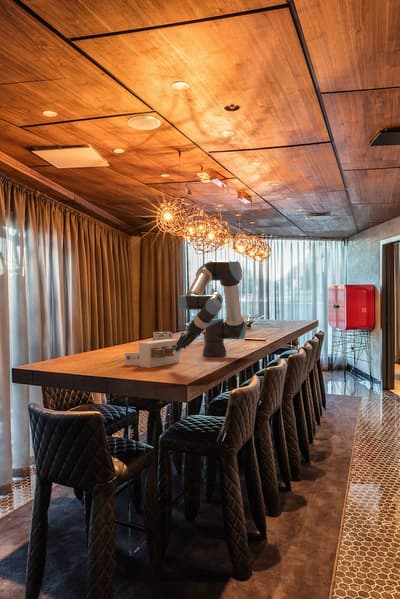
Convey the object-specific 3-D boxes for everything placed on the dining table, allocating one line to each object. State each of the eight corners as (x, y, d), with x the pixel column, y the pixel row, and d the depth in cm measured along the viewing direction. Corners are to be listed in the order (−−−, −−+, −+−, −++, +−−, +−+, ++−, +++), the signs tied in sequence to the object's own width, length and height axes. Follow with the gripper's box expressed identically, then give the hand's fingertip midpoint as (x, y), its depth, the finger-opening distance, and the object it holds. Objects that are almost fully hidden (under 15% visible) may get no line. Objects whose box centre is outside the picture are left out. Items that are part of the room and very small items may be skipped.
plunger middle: (163, 354, 261) (163, 346, 261) (174, 355, 255) (174, 347, 255) (157, 355, 258) (157, 347, 258) (169, 356, 252) (169, 348, 252)
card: (143, 364, 259) (143, 352, 259) (143, 364, 257) (143, 352, 257) (125, 365, 257) (124, 352, 257) (125, 365, 256) (124, 352, 256)
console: (169, 360, 272) (169, 338, 271) (179, 362, 267) (179, 339, 266) (139, 366, 253) (139, 342, 253) (149, 367, 248) (149, 343, 248)
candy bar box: (172, 358, 280) (172, 331, 280) (170, 360, 275) (170, 332, 275) (155, 358, 283) (155, 331, 282) (152, 359, 278) (152, 332, 278)
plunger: (153, 355, 255) (153, 347, 255) (164, 357, 249) (164, 349, 249) (147, 356, 251) (147, 348, 251) (159, 358, 246) (159, 350, 246)
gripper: (194, 330, 224) (169, 361, 235) (211, 328, 234) (186, 358, 245) (186, 319, 227) (162, 350, 238) (203, 317, 237) (179, 347, 248)
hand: (174, 354), depth 242 cm, fingers closed
